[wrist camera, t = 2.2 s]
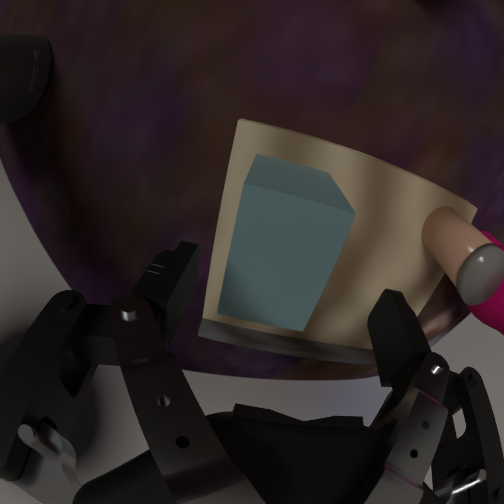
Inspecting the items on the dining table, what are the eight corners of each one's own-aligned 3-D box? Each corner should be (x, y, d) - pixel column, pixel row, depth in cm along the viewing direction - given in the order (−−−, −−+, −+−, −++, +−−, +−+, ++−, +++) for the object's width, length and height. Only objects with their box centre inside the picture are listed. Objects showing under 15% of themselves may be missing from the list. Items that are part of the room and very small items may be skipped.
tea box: (235, 248, 20) (216, 313, 14) (256, 153, 17) (243, 183, 11) (299, 263, 20) (305, 332, 14) (330, 173, 17) (359, 214, 11)
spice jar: (412, 245, 19) (450, 300, 13) (433, 197, 16) (485, 242, 11) (446, 257, 19) (484, 308, 13) (467, 214, 17) (515, 258, 11)
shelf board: (205, 312, 26) (197, 336, 23) (241, 118, 17) (234, 121, 14) (383, 345, 27) (389, 367, 24) (467, 201, 18) (487, 216, 15)
